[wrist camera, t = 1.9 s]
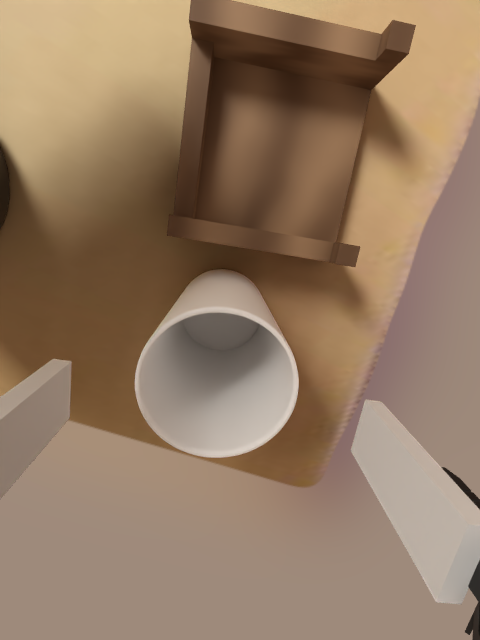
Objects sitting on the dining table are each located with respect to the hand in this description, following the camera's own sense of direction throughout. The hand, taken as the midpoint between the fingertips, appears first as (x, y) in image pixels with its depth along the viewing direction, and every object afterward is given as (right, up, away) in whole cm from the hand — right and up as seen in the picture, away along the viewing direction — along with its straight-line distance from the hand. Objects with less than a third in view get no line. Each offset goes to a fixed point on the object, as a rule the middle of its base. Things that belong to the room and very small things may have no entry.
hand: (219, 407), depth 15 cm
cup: (-1, +5, +17) cm, 18 cm away
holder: (+3, +18, +14) cm, 23 cm away
